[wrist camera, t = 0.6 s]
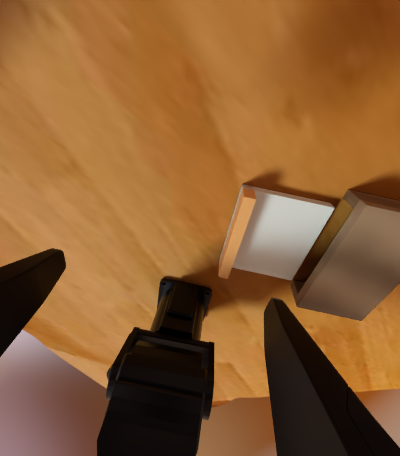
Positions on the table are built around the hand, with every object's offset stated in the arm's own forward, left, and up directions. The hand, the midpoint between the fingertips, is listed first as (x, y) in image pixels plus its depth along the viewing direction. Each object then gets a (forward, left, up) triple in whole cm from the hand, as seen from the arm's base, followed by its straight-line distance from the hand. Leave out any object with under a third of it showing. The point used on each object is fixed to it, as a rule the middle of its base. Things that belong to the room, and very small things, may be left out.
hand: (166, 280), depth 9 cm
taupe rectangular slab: (-4, -16, -12) cm, 20 cm away
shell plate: (-4, -8, -13) cm, 15 cm away
